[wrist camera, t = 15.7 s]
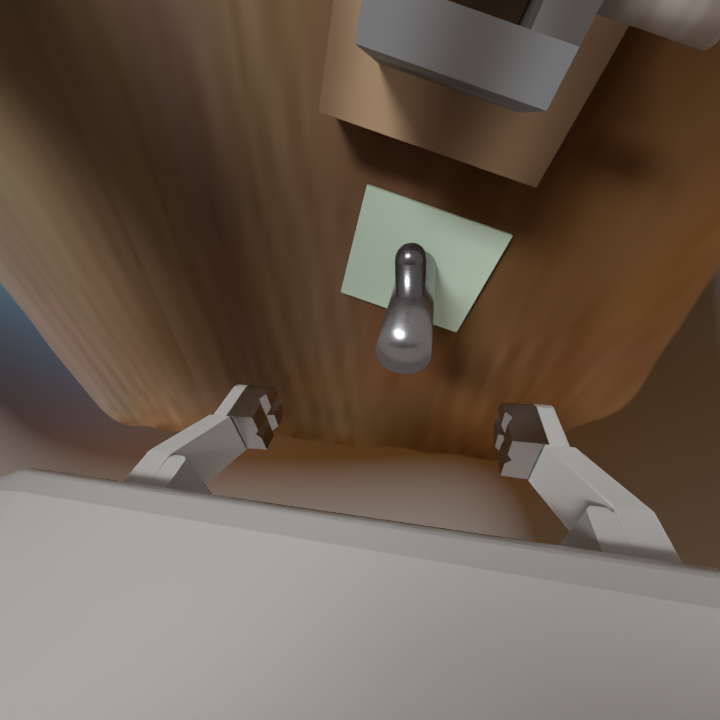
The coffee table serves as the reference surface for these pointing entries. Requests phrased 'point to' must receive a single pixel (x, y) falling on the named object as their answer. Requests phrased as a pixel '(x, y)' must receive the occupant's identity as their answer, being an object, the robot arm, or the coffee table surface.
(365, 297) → the mat
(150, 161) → the coffee table surface
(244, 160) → the coffee table surface
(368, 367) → the coffee table surface
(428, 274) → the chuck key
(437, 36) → the block
